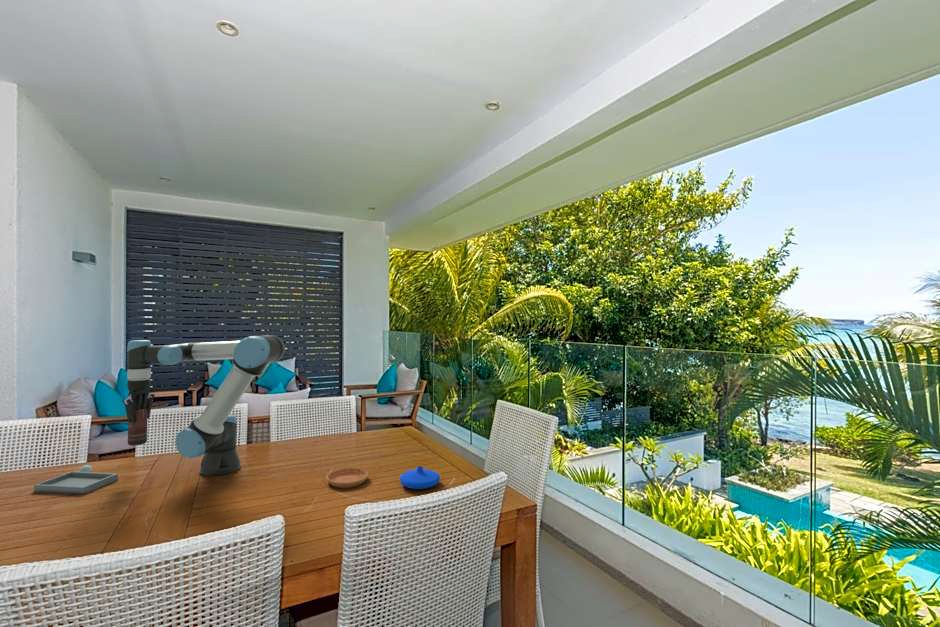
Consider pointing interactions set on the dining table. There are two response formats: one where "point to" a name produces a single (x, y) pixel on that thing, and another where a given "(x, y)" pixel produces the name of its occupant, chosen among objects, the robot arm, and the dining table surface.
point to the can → (138, 428)
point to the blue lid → (419, 478)
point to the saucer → (347, 477)
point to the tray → (76, 482)
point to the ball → (86, 468)
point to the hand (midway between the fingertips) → (139, 438)
